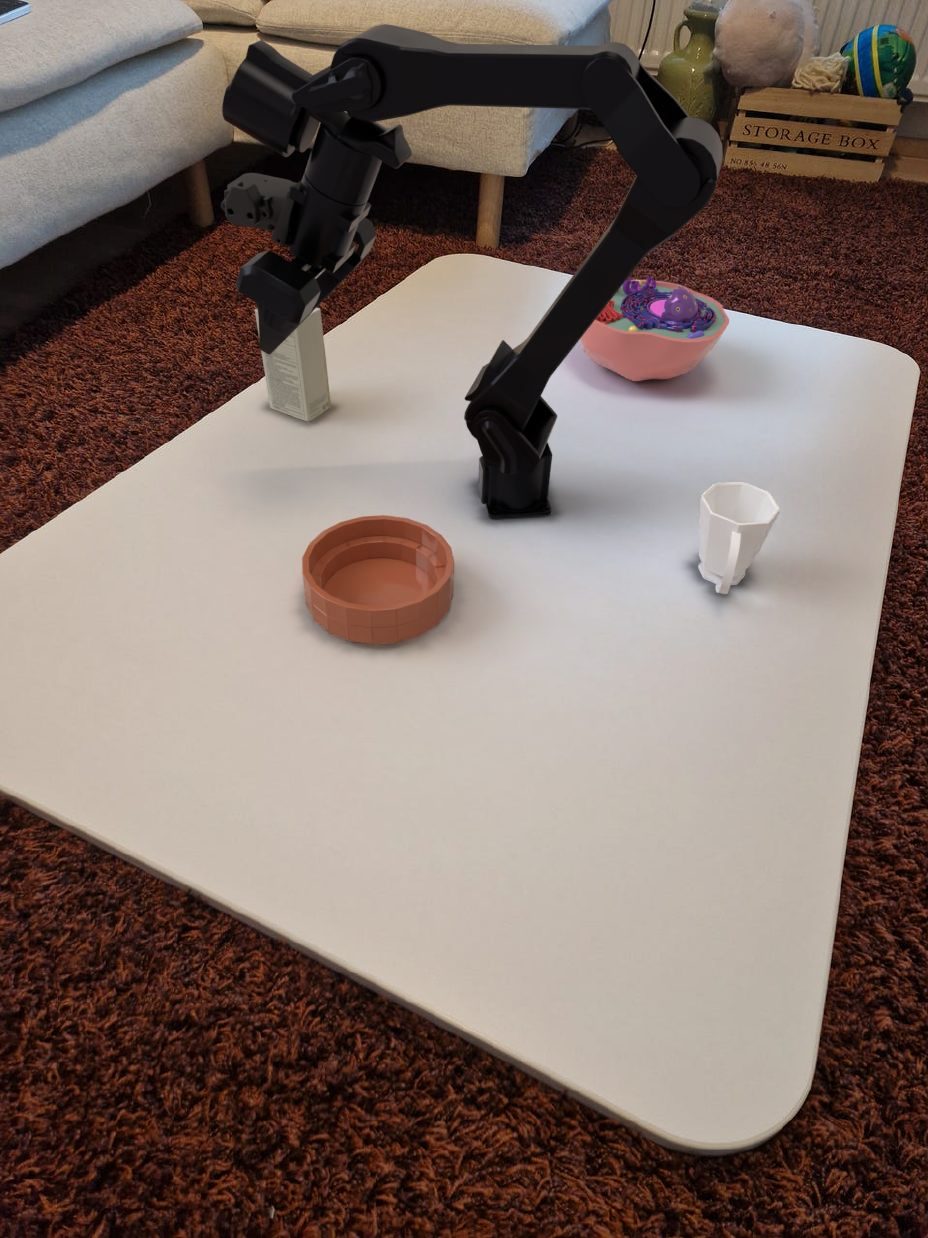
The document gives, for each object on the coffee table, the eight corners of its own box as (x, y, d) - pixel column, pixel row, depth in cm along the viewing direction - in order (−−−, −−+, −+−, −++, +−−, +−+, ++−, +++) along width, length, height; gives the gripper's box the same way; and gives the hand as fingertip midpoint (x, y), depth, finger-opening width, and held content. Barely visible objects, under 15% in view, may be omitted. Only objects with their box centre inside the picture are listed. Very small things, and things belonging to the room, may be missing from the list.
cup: (759, 556, 89) (781, 487, 84) (756, 622, 82) (780, 552, 77) (687, 543, 91) (703, 474, 85) (678, 607, 83) (695, 537, 78)
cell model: (602, 325, 127) (613, 241, 119) (737, 367, 118) (758, 281, 111) (537, 370, 117) (544, 282, 109) (679, 420, 108) (698, 329, 101)
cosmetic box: (332, 408, 108) (324, 308, 100) (308, 424, 105) (297, 323, 97) (291, 393, 111) (280, 294, 102) (266, 408, 108) (252, 308, 100)
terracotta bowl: (443, 549, 89) (443, 511, 86) (461, 643, 79) (463, 604, 76) (305, 558, 87) (301, 519, 84) (307, 654, 78) (302, 615, 75)
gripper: (297, 107, 85) (254, 253, 96) (200, 166, 71) (162, 327, 82) (402, 172, 86) (347, 309, 97) (326, 242, 73) (273, 391, 83)
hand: (285, 331), depth 90 cm, fingers open, 9 cm apart
